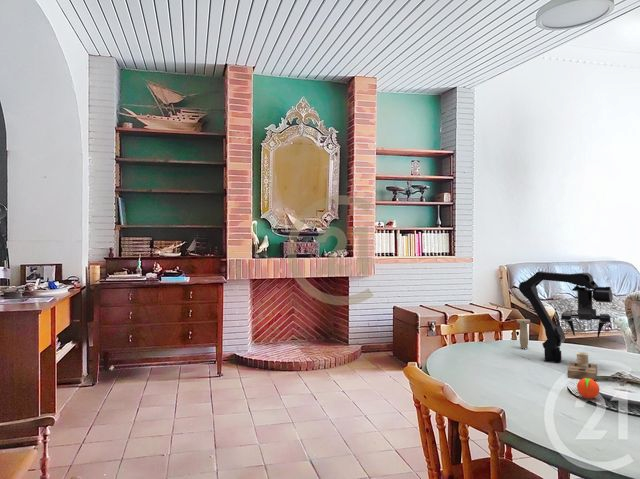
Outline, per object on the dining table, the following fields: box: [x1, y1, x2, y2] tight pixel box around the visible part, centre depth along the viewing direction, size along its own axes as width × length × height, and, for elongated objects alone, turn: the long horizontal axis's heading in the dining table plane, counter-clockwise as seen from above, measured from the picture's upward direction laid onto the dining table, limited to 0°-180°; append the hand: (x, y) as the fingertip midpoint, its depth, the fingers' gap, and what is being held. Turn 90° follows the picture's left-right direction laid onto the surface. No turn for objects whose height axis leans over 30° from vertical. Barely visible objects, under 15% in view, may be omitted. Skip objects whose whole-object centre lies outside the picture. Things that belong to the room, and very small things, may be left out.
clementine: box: [576, 378, 600, 399], centre depth 165 cm, size 8×7×7 cm
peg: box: [576, 351, 589, 368], centre depth 197 cm, size 4×4×8 cm
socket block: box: [567, 361, 598, 381], centre depth 194 cm, size 10×15×3 cm, turn 148°
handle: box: [516, 318, 531, 349], centre depth 242 cm, size 5×6×15 cm
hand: (586, 336), depth 207 cm, fingers open, 9 cm apart
